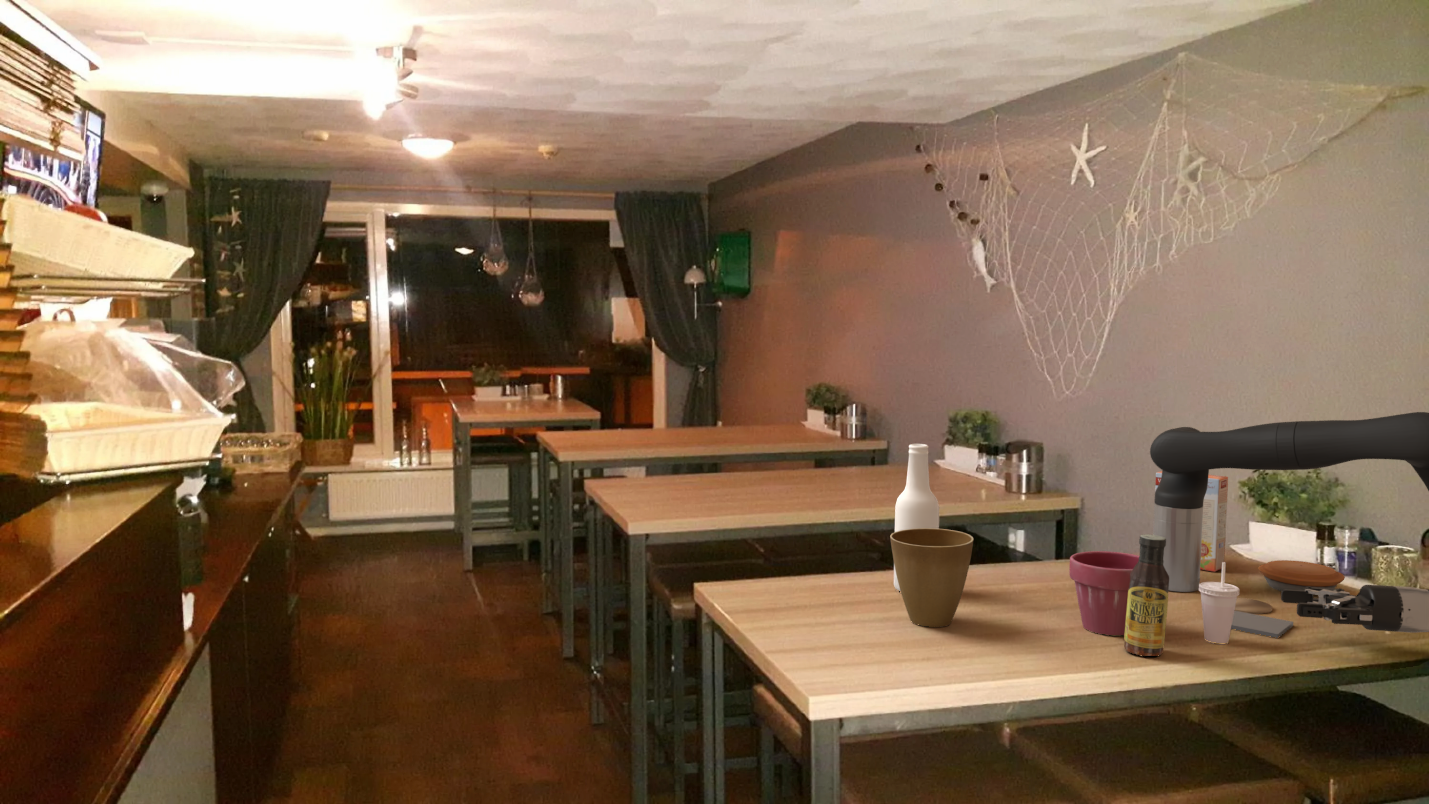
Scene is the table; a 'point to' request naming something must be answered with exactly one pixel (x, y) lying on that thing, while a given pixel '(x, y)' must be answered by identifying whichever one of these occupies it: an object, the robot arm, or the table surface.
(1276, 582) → the pie
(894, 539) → the plant pot
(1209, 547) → the cracker box
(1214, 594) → the smoothie
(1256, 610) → the cork trivet
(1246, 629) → the slate coaster
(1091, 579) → the plant pot
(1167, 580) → the sauce bottle
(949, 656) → the table surface
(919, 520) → the alcohol
